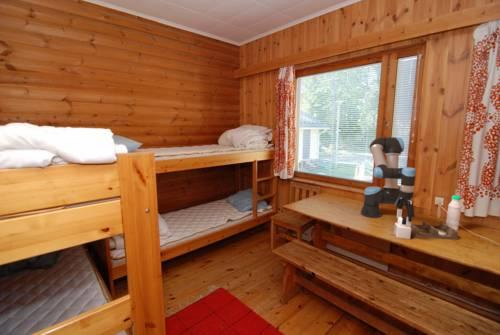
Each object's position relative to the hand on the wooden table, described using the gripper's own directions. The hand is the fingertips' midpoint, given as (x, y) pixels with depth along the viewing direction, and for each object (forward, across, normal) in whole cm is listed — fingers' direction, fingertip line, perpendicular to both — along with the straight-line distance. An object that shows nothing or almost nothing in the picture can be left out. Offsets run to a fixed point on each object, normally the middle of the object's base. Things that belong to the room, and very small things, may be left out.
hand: (403, 221), depth 160 cm
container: (+10, -1, 0) cm, 11 cm away
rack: (+10, -7, +20) cm, 23 cm away
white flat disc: (+9, -7, +26) cm, 28 cm away
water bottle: (+10, -16, +39) cm, 43 cm away
